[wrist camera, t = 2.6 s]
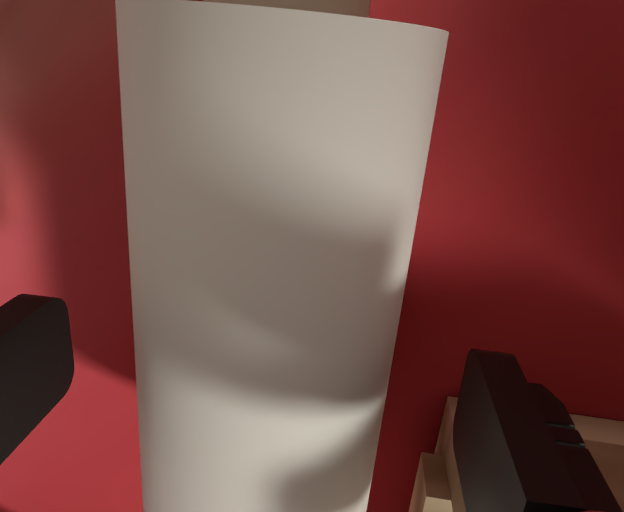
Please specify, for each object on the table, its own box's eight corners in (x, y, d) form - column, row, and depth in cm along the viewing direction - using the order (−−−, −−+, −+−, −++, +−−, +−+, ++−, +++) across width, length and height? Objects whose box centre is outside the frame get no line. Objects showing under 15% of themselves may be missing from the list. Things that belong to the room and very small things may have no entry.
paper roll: (176, -11, 11) (36, -62, 6) (426, 12, 11) (498, -20, 6) (182, 424, 16) (105, 604, 11) (359, 444, 16) (367, 634, 10)
